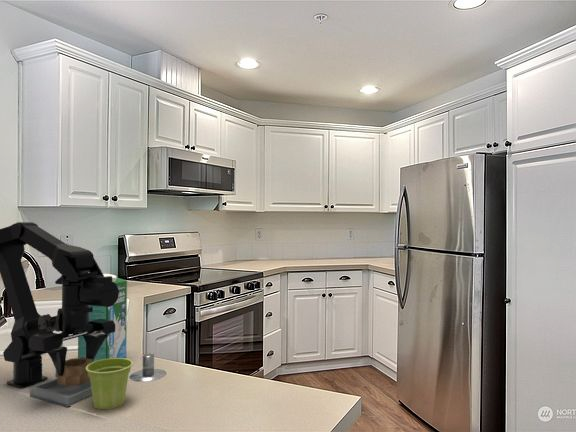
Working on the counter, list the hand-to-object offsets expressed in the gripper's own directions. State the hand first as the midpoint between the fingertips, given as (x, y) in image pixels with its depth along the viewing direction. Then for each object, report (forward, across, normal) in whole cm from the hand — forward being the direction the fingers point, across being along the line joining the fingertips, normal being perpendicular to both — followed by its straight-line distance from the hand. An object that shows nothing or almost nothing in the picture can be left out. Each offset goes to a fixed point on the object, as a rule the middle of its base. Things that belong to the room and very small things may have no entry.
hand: (75, 370), depth 98 cm
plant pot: (+5, +2, +13) cm, 14 cm away
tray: (+5, 0, 0) cm, 5 cm away
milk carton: (+5, -16, -10) cm, 20 cm away
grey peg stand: (+5, -14, +8) cm, 17 cm away
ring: (+2, 0, -1) cm, 2 cm away
